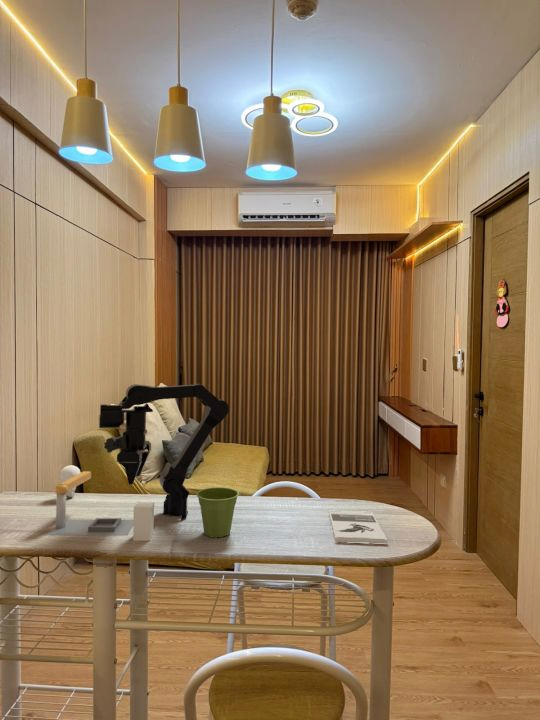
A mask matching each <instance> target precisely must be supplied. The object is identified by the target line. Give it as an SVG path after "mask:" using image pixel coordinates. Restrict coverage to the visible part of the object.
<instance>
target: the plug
mask: <svg viewBox="0 0 540 720" xmlns="http://www.w3.org/2000/svg"><path fill="white" fill-rule="evenodd" d="M154 518H155V501H137V502H136V504H134V507H133V520H134V524H133V527H132V529H133V532H132V533H133V534H132V541H135V542H136V541H137V542H139V541H140V542H143V541H144V542H146V541H147V542H149V541H151V540H152V539H153V536H154V529H155V528H154V525H155V524H154V521H155V520H154Z"/></svg>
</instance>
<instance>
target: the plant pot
mask: <svg viewBox="0 0 540 720" xmlns="http://www.w3.org/2000/svg"><path fill="white" fill-rule="evenodd" d="M195 495H196V497H197V498H198V504H199V507H200V513H201V520H202V525H203V527H202V528H203V532H204V535H206V536H208V537H209V536H210V537H209V538H213V537H214V538H217V537H220V538H223V537H224V536H225V537H226V535H227V536H229V535H230V533H231V530H232V524H233V519H234V513H235V507H236V504H237V499H238V497H239V496H240V492H239V491H238V490H237V489H235V488H232V487H223V486H219V487H217V486H216V487H215V486H214V487H207V488H203V489H201V490H200V489H199V490H198V491H197V492H196V494H195Z"/></svg>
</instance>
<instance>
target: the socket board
mask: <svg viewBox="0 0 540 720" xmlns="http://www.w3.org/2000/svg"><path fill="white" fill-rule="evenodd" d="M55 504H56V505H55V506H56V509H55V511H56V512H55V526H54V527H53V528H52V529H50V531H49V532H48V533H46V536H129V534H130V532H131V530H132V529H133V524H134V519H122V518H120V517H119V518H113V517H112V518H111V517H110V518H109V517H108V518H107V517H105V518H100V517H99V518H95V519H80V518H79V519H75V518H73V519H72V518H71V519H66V518H67V516H66V515H67V514H66V512H67V510H66V509H67V497H66V493H65V494H56V503H55Z"/></svg>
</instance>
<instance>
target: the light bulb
mask: <svg viewBox="0 0 540 720" xmlns="http://www.w3.org/2000/svg"><path fill="white" fill-rule="evenodd" d="M79 473H81V469H80V468H79V467H78V466H76V465H72V464H70V465H66V466H65V467H63V468H62V469H61V471H60V473H59V480H60V483H62V482H64V481H66V480H68V479H70V478H72V477H74V476H76V475H77V474H79ZM76 488H77V486H76V487H75V488H73V489H71V490H70V491H68V492H67V493H66V499H67V498H68V499H72V498H73V497H74V496H75V491H76Z"/></svg>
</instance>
